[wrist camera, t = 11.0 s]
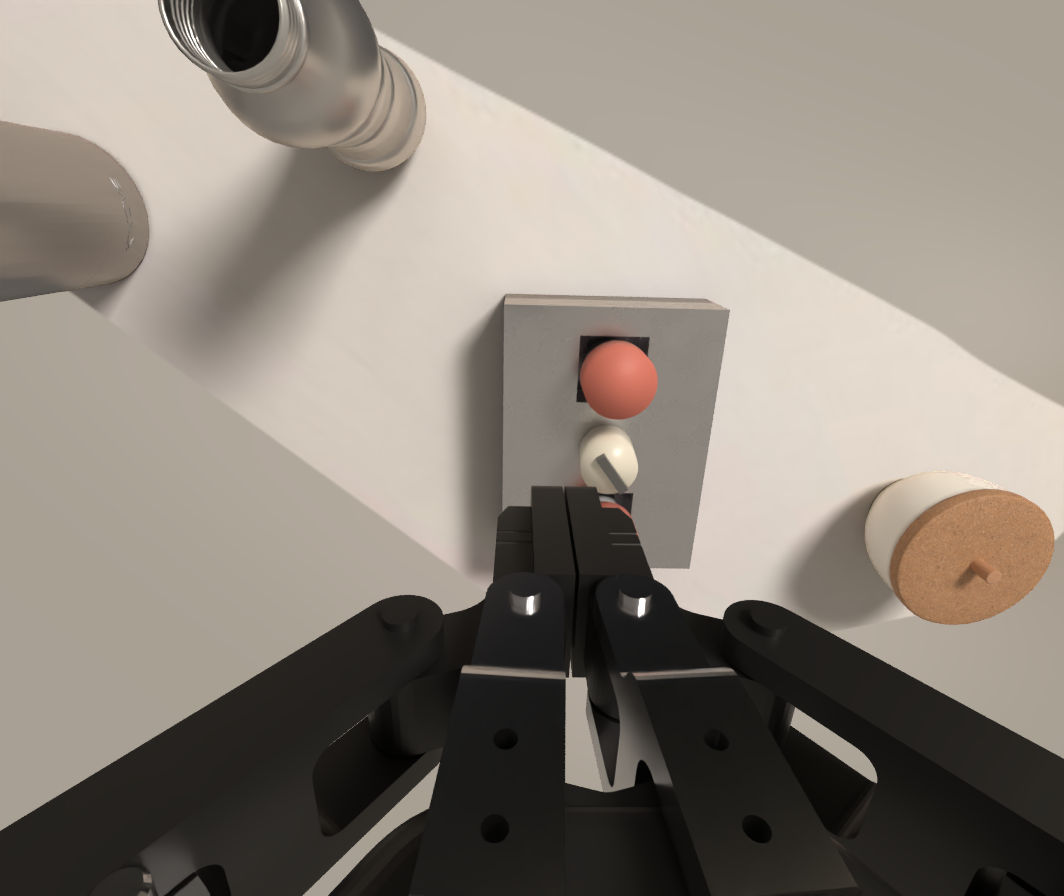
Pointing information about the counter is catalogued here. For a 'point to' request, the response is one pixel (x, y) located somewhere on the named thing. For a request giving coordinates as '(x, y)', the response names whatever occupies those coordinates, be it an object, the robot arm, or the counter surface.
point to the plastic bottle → (305, 75)
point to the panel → (656, 433)
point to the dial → (608, 460)
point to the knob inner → (618, 379)
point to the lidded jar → (957, 545)
